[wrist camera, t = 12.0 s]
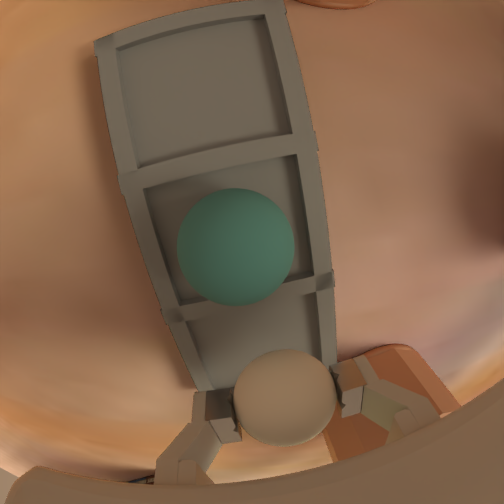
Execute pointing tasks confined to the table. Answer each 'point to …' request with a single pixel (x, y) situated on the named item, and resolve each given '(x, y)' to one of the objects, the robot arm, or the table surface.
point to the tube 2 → (397, 372)
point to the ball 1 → (235, 247)
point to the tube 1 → (338, 3)
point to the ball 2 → (284, 397)
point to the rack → (220, 171)
